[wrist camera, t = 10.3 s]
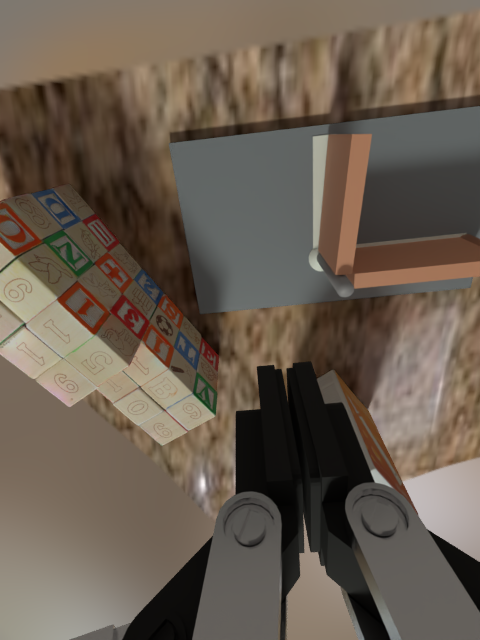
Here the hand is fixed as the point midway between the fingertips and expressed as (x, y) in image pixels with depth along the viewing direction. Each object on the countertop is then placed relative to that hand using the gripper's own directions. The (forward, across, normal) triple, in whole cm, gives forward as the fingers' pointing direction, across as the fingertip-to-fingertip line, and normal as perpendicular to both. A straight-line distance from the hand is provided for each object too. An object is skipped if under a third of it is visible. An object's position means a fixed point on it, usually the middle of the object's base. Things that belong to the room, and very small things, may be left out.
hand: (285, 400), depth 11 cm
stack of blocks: (+22, +13, +5) cm, 26 cm away
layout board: (+22, -7, 0) cm, 23 cm away
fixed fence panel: (+22, -13, +3) cm, 25 cm away
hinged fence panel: (+21, -6, -2) cm, 22 cm away
